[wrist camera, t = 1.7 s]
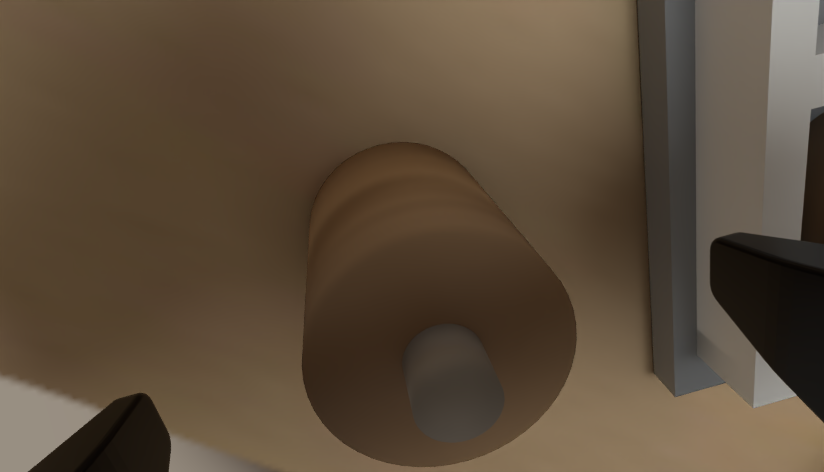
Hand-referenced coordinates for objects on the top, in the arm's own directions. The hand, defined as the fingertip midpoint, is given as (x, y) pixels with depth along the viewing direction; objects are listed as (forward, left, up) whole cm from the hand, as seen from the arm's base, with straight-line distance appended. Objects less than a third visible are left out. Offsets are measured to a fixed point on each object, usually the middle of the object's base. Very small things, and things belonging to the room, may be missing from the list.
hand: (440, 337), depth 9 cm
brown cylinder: (0, 0, -4) cm, 4 cm away
